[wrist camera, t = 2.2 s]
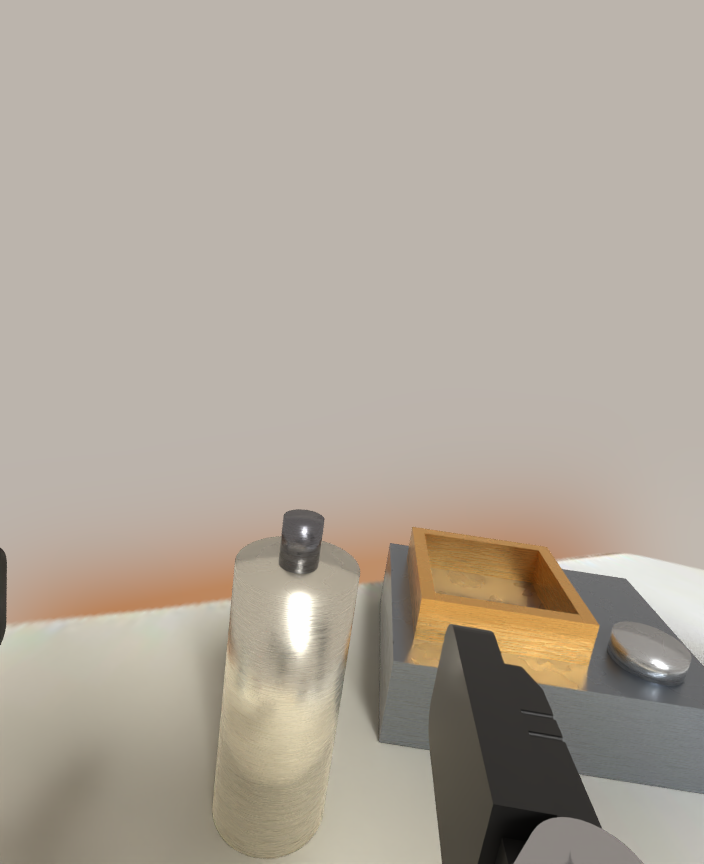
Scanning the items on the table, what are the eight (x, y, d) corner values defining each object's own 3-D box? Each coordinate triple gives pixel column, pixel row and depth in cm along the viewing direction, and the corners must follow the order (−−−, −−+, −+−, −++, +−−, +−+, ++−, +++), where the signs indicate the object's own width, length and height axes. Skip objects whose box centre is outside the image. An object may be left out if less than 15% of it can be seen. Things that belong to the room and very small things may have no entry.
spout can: (328, 765, 27) (368, 504, 24) (316, 867, 22) (364, 556, 19) (230, 750, 27) (256, 487, 24) (196, 848, 22) (223, 534, 19)
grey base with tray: (609, 636, 42) (634, 548, 40) (718, 796, 28) (763, 673, 26) (380, 601, 42) (395, 512, 41) (379, 741, 29) (400, 617, 27)
